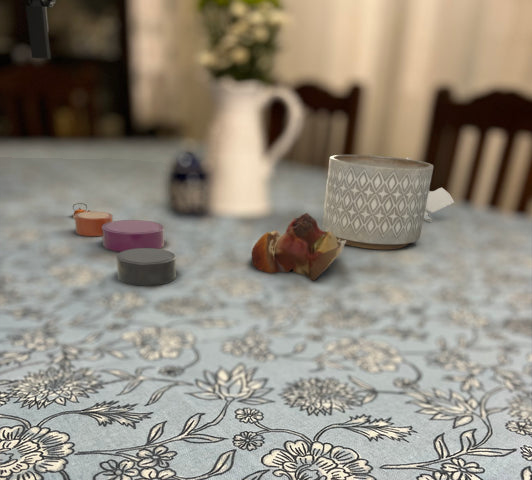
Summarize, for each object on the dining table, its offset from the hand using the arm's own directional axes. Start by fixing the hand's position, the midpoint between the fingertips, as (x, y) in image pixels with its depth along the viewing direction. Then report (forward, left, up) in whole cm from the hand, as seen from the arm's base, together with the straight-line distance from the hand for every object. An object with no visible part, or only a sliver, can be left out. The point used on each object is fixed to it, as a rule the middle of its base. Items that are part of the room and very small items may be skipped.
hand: (9, 54), depth 71 cm
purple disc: (+13, +8, -27) cm, 31 cm away
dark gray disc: (+23, -6, -27) cm, 36 cm away
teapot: (-6, +21, -27) cm, 35 cm away
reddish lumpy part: (+41, +10, -27) cm, 50 cm away
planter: (+50, +33, -27) cm, 66 cm away
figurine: (+56, +58, -27) cm, 85 cm away
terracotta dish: (+3, +12, -27) cm, 29 cm away
